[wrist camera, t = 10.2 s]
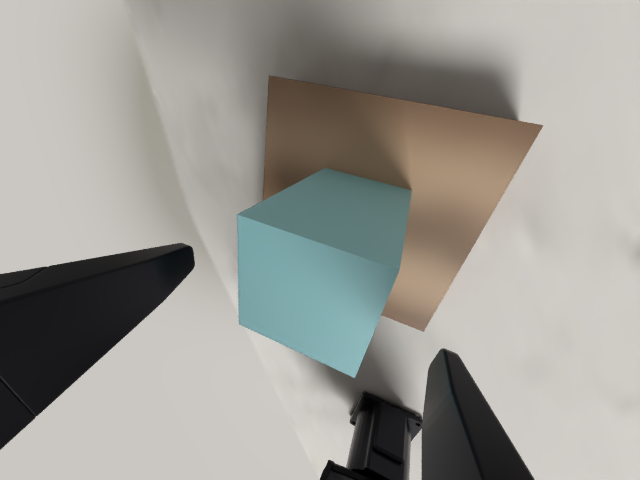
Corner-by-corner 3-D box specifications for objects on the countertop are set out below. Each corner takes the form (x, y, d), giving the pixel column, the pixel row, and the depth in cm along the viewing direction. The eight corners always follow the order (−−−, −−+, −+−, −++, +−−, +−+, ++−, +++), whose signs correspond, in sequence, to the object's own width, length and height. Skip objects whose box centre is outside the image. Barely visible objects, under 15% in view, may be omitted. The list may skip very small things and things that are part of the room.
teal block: (384, 265, 15) (354, 378, 9) (312, 240, 17) (238, 323, 10) (412, 190, 13) (399, 270, 6) (325, 167, 14) (237, 214, 7)
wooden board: (423, 303, 19) (423, 331, 17) (278, 249, 22) (259, 266, 20) (519, 123, 12) (543, 125, 10) (293, 81, 15) (268, 75, 13)
